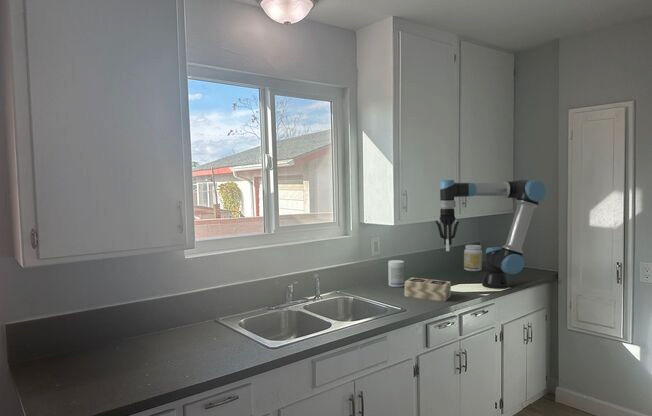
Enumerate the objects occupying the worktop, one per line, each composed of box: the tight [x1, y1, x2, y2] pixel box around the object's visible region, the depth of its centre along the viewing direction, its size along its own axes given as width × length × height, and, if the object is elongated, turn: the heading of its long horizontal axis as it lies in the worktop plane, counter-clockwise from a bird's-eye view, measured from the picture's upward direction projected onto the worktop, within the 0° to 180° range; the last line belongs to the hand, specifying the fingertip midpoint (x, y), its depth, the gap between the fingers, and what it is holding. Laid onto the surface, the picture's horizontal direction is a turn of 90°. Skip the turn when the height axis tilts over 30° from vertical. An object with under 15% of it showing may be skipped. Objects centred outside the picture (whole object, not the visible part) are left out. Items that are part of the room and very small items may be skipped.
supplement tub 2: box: [463, 244, 483, 272], centre depth 323 cm, size 12×12×17 cm
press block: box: [403, 277, 452, 302], centre depth 251 cm, size 22×12×8 cm, turn 62°
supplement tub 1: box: [387, 259, 406, 288], centre depth 275 cm, size 10×10×15 cm
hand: (447, 250), depth 256 cm, fingers closed
